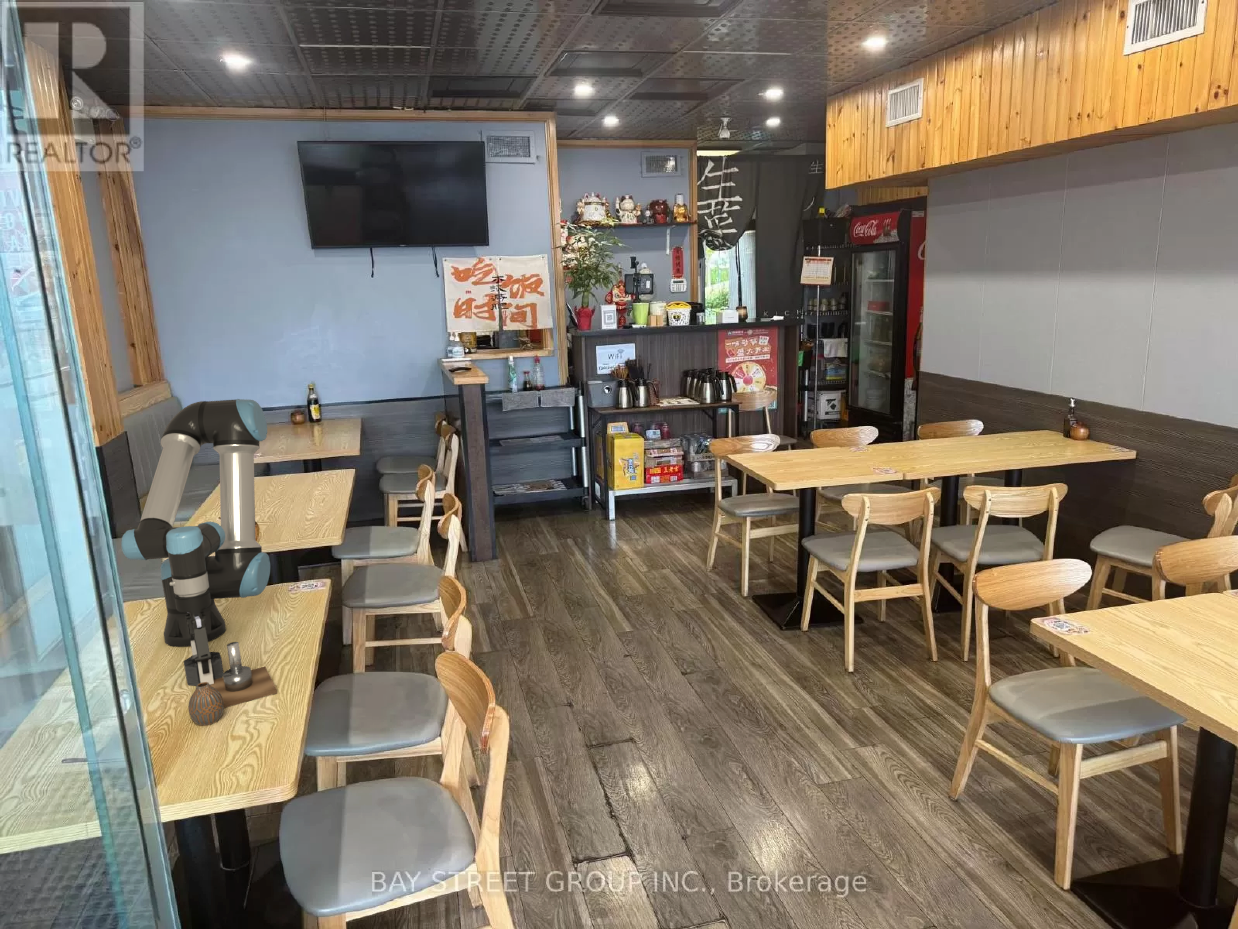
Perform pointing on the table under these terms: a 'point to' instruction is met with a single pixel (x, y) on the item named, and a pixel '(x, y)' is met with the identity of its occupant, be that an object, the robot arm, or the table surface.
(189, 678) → the ring
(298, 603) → the table surface
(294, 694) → the table surface
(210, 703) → the vase
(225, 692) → the base board
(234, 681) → the shaft
